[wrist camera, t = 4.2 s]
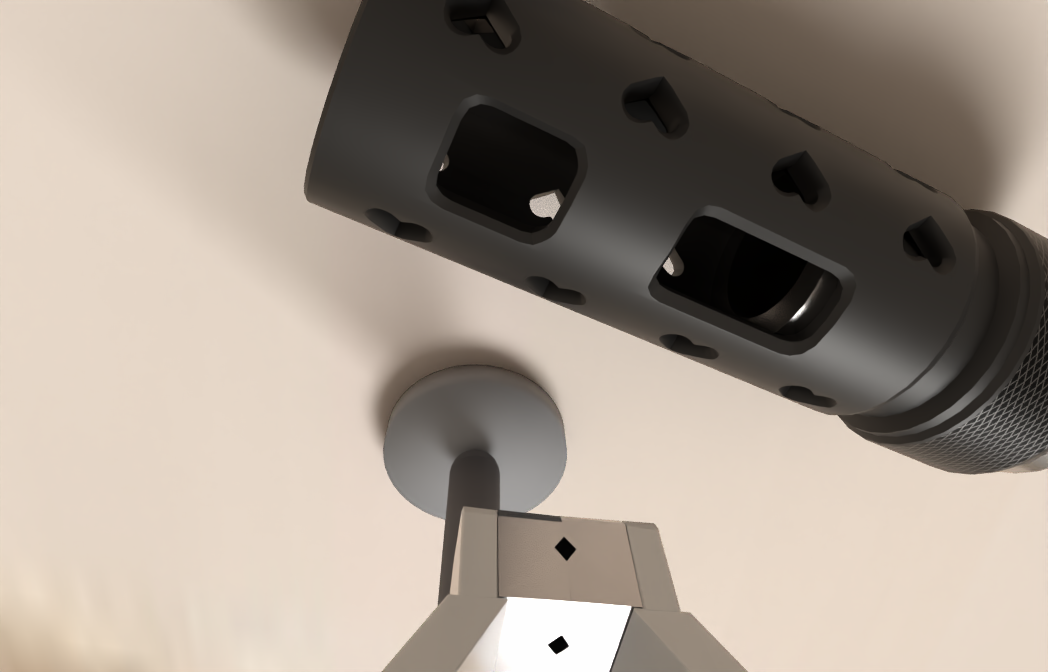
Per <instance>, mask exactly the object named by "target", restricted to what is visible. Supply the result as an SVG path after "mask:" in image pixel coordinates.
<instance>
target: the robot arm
mask: <svg viewBox="0 0 1048 672" xmlns="http://www.w3.org/2000/svg"><path fill="white" fill-rule="evenodd" d="M382 672H748V671H747V670H746V669H745V668H744V667H743V666H742V665H741V664H740V663H739V662H738V661H737V660H736V659H735V658H734V657H733V656H732V655H731V654H730V653H729V652H728V651H727V650H726V649H725V648H724V647H723V646H722V645H721V644H720V643H719V642H718V641H717V640H716V638H715V637H714V636H713V635H712V634H711V633H710V632H709V631H708V630H707V629H706V628H705V627H704V626H703V625H702V624H701V623H700V622H699V621H698V620H697V619H696V618H695V617H694V616H693V615H692V614H691V613H688V612H681V611H680V607H679V603H678V600H677V596H676V592H675V589H674V585H673V581H672V578H671V574H670V570H669V567H668V563H667V559H666V555H665V552H664V548H663V544H662V541H661V537H660V533H659V530H658V528H657V527H656V525H655V524H654V523H642V522H629V521H622V522H621V521H615V520H602V519H590V518H577V517H564V516H550V515H541V514H532V513H524V512H515V511H506V510H496V511H495V510H490V509H482V508H474V507H465V506H463V509H462V511H461V518H460V524H459V531H458V537H457V543H456V550H455V556H454V564H453V572H452V580H451V588H450V594H448V595H447V596H446V597H445V598H444V600H443V601H442V602H441V603H440V604H439V605H438V607H437V608H436V609H435V610H434V611H433V612H432V614H431V615H430V616H429V617H428V618H427V619H426V621H425V622H424V623H423V624H422V625H421V626H420V628H419V629H418V630H417V631H416V632H415V633H414V635H413V636H412V637H411V638H410V639H409V640H408V642H407V643H406V644H405V645H404V646H403V647H402V649H401V650H400V651H399V652H398V653H397V654H396V656H395V657H394V658H393V659H392V660H391V661H390V663H389V664H388V665H387V666H386V667H385V668H384V670H383V671H382Z"/></svg>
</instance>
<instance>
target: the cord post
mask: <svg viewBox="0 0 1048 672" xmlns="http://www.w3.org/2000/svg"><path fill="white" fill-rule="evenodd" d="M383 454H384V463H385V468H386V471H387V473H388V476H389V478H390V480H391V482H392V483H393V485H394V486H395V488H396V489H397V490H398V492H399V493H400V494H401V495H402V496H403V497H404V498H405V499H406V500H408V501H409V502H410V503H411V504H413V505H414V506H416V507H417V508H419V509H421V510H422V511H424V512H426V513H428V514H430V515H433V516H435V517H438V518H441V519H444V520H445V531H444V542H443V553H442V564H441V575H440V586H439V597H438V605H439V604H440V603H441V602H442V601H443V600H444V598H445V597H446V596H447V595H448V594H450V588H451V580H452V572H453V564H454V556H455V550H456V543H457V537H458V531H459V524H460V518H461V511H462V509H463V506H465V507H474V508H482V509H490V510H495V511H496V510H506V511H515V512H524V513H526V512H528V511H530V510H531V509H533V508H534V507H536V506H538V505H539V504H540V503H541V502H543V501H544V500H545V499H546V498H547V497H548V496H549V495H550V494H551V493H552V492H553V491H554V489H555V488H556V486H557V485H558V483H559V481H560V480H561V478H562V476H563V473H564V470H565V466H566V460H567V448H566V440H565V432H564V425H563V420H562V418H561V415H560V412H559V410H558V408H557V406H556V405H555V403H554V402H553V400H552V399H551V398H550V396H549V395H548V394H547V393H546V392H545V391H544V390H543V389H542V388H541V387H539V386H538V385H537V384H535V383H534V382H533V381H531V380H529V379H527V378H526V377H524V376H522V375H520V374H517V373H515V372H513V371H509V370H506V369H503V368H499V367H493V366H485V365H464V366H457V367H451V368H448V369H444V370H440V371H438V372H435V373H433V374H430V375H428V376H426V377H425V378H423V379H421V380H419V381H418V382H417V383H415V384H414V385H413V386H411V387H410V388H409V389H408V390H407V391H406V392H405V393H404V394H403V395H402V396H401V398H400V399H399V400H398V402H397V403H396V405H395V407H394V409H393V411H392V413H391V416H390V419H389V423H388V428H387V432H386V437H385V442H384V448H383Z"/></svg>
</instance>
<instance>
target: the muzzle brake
mask: <svg viewBox="0 0 1048 672" xmlns="http://www.w3.org/2000/svg"><path fill="white" fill-rule="evenodd" d="M477 19H478V20H477ZM442 163H443V164H444V166H443V169H442V171H439V170H440V168H441V166H442ZM554 192H555V194H556V196H557V199H558V201H559V203H560V205H561V206H560V208H559V210H558V212H557V213H556V215H555V217H554V219H552V218H551V217H544V218H543V217H539V216H536V215H535V214H534V213H533V212H532V211H531V209H530V205H529V203H530V200H532V199H535V198H539V197H542V196H546V195H549V194H551V193H554ZM304 193H305V196H306V198H307V200H308V201H309V202H311V203H313V204H316V205H318V206H320V207H323V208H325V209H328V210H330V211H333V212H335V213H337V214H340V215H342V216H345V217H347V218H350V219H352V220H354V221H357V222H359V223H362V224H364V225H367V226H369V227H371V228H374V229H376V230H379V231H381V232H384V233H386V234H388V235H391V236H393V237H396V238H398V239H400V240H403V241H405V242H408V243H410V244H413V245H415V246H417V247H420V248H422V249H425V250H427V251H430V252H432V253H434V254H437V255H439V256H442V257H444V258H447V259H449V260H451V261H454V262H456V263H459V264H461V265H464V266H466V267H468V268H471V269H473V270H476V271H478V272H480V273H483V274H485V275H488V276H490V277H493V278H495V279H497V280H500V281H502V282H505V283H507V284H510V285H512V286H514V287H517V288H519V289H522V290H524V291H527V292H529V293H531V294H534V295H536V296H539V297H541V298H544V299H546V300H548V301H551V302H553V303H556V304H558V305H560V306H563V307H565V308H568V309H570V310H573V311H575V312H577V313H580V314H582V315H585V316H587V317H590V318H592V319H594V320H597V321H599V322H602V323H604V324H607V325H609V326H611V327H614V328H616V329H619V330H621V331H624V332H626V333H628V334H631V335H633V336H636V337H638V338H640V339H643V340H645V341H648V342H650V343H653V344H655V345H657V346H660V347H662V348H665V349H667V350H670V351H672V352H674V353H677V354H679V355H682V356H684V357H687V358H689V359H691V360H694V361H696V362H699V363H701V364H704V365H706V366H708V367H711V368H713V369H716V370H718V371H720V372H723V373H725V374H728V375H730V376H733V377H735V378H737V379H740V380H742V381H745V382H747V383H750V384H752V385H754V386H757V387H759V388H762V389H764V390H767V391H769V392H771V393H774V394H776V395H779V396H781V397H784V398H786V399H788V400H791V401H793V402H796V403H798V404H800V405H803V406H805V407H808V408H810V409H813V410H815V411H818V412H821V413H824V414H828V415H838V416H839V417H840V418H841V420H842V421H843V422H844V423H845V424H846V425H847V427H848V428H849V429H851V430H852V431H854V432H855V433H857V434H858V435H860V436H861V437H863V438H864V439H866V440H868V441H871V442H873V443H876V444H878V445H880V446H883V447H885V448H888V449H890V450H893V451H895V452H898V453H900V454H902V455H905V456H907V457H910V458H912V459H915V460H917V461H920V462H922V463H924V464H927V465H929V466H932V467H935V468H938V469H941V470H944V471H947V472H952V473H962V474H982V473H991V472H1007V473H1024V472H1034V471H1041V470H1044V469H1048V239H1047V238H1045V237H1043V236H1041V235H1039V234H1038V233H1036V232H1034V231H1032V230H1030V229H1028V228H1026V227H1025V226H1023V225H1021V224H1019V223H1017V222H1015V221H1014V220H1011V219H1009V218H1007V217H1004V216H1002V215H1000V214H997V213H995V212H990V211H983V210H975V209H970V210H963V208H962V207H961V206H959V205H958V204H957V203H956V202H955V201H954V200H953V199H952V198H951V197H949V196H948V195H946V194H944V193H942V192H940V191H938V190H936V189H934V188H933V187H931V186H929V185H927V184H924V183H922V182H921V181H919V180H917V179H915V178H913V177H911V176H909V175H907V174H905V173H903V172H901V171H898V170H895V169H892V168H891V166H890V165H888V164H887V163H886V162H884V161H882V160H880V159H878V158H877V157H875V156H873V155H871V154H869V153H867V152H865V151H863V150H862V149H860V148H858V147H856V146H854V145H852V144H850V143H848V142H847V141H845V140H843V139H841V138H839V137H837V136H835V135H834V134H832V133H830V132H828V131H826V130H824V129H822V128H820V127H819V126H817V125H815V124H812V123H810V122H808V121H806V120H804V119H802V118H800V117H798V116H796V115H794V114H792V113H790V112H788V111H786V110H783V109H780V108H778V107H777V106H776V105H775V104H774V103H772V102H770V101H769V100H767V99H766V98H764V97H762V96H761V95H759V94H757V93H755V92H753V91H751V90H749V89H748V88H746V87H744V86H742V85H740V84H738V83H736V82H734V81H733V80H731V79H729V78H727V77H725V76H723V75H721V74H719V73H718V72H716V71H714V70H712V69H710V68H708V67H706V66H705V65H703V64H701V63H699V62H697V61H695V60H693V59H691V58H690V57H688V56H685V55H683V54H681V53H679V52H677V51H675V50H673V49H671V48H669V47H667V46H665V45H663V44H661V43H659V42H655V41H652V40H651V39H650V38H649V37H648V36H646V35H645V34H643V33H641V32H639V31H638V30H636V29H634V28H633V27H631V26H630V25H628V24H626V23H624V22H622V21H620V20H619V19H617V18H615V17H613V16H611V15H609V14H607V13H605V12H604V11H602V10H600V9H598V8H596V7H594V6H592V5H590V4H589V3H587V2H585V1H583V0H362V2H361V5H360V7H359V10H358V12H357V15H356V17H355V20H354V22H353V25H352V27H351V30H350V33H349V36H348V38H347V41H346V44H345V46H344V49H343V52H342V55H341V57H340V60H339V63H338V66H337V69H336V72H335V75H334V78H333V81H332V84H331V86H330V89H329V92H328V95H327V98H326V102H325V105H324V108H323V111H322V115H321V118H320V121H319V124H318V127H317V131H316V135H315V138H314V142H313V145H312V149H311V153H310V157H309V162H308V166H307V170H306V177H305V183H304ZM668 257H669V258H670V260H671V262H672V264H673V267H674V272H673V274H672V275H670V274H669V273H668V272H667V271H666V270H665V269H664V268H663V265H664V263H665V262H666V260H667V259H668Z"/></svg>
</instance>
